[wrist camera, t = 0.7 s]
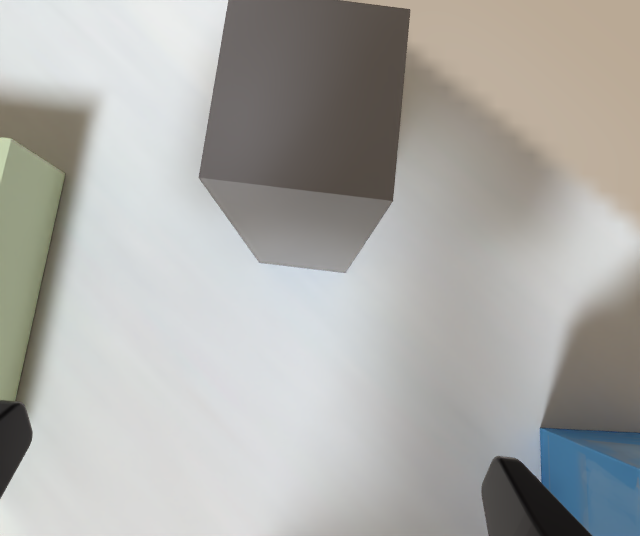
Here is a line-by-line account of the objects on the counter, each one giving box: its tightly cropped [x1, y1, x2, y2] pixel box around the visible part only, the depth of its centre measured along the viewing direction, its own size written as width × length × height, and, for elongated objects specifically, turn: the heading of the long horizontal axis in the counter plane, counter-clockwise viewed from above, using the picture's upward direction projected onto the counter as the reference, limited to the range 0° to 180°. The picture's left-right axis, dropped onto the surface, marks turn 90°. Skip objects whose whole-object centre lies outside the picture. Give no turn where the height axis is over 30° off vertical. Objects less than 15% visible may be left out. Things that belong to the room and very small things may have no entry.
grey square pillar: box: [199, 0, 410, 273], centre depth 16 cm, size 5×4×12 cm
